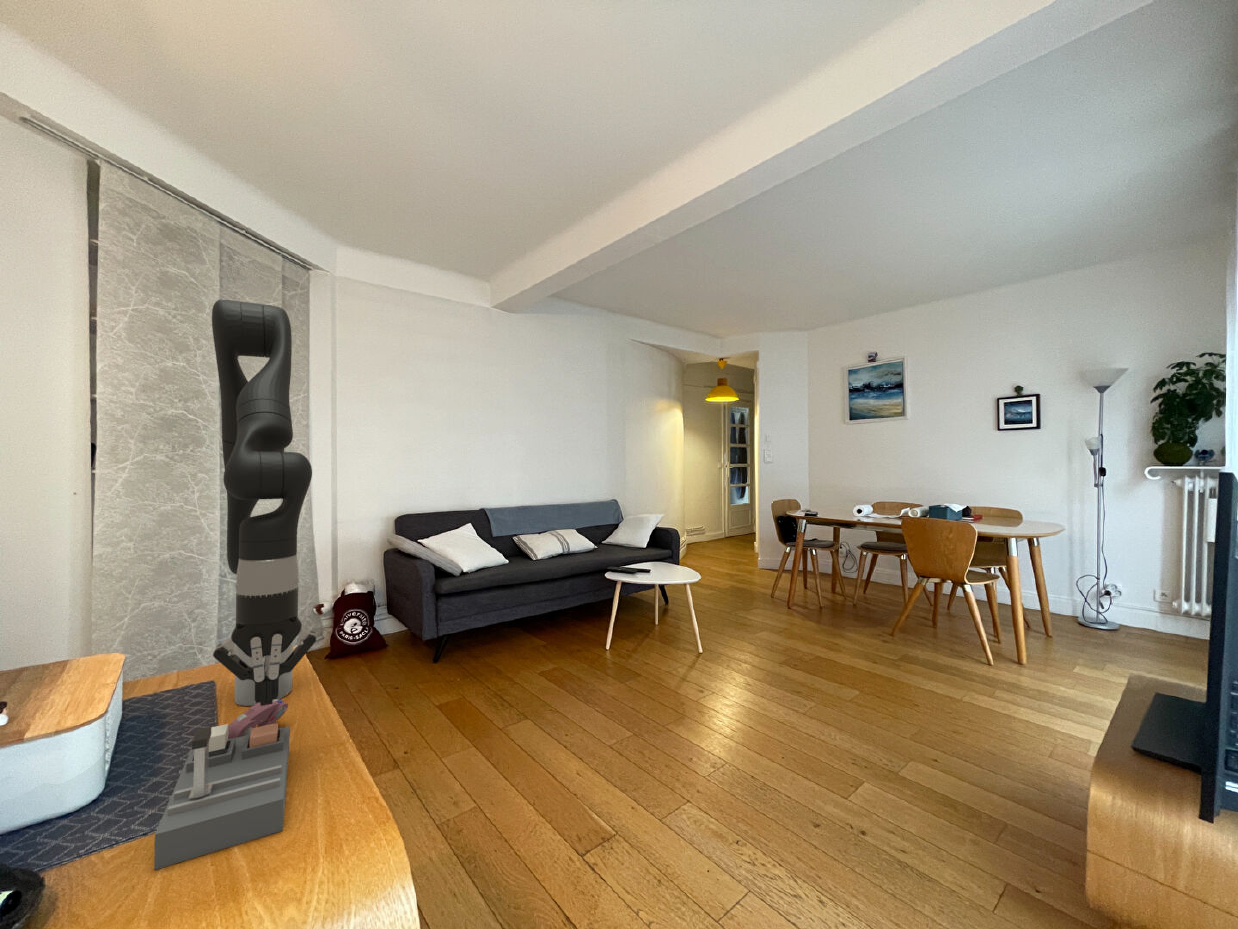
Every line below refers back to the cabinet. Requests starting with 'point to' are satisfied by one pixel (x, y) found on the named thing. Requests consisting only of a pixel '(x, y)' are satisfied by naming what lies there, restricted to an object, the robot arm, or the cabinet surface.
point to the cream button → (218, 737)
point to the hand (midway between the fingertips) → (266, 703)
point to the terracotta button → (264, 735)
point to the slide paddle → (201, 764)
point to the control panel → (226, 801)
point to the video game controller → (256, 718)
